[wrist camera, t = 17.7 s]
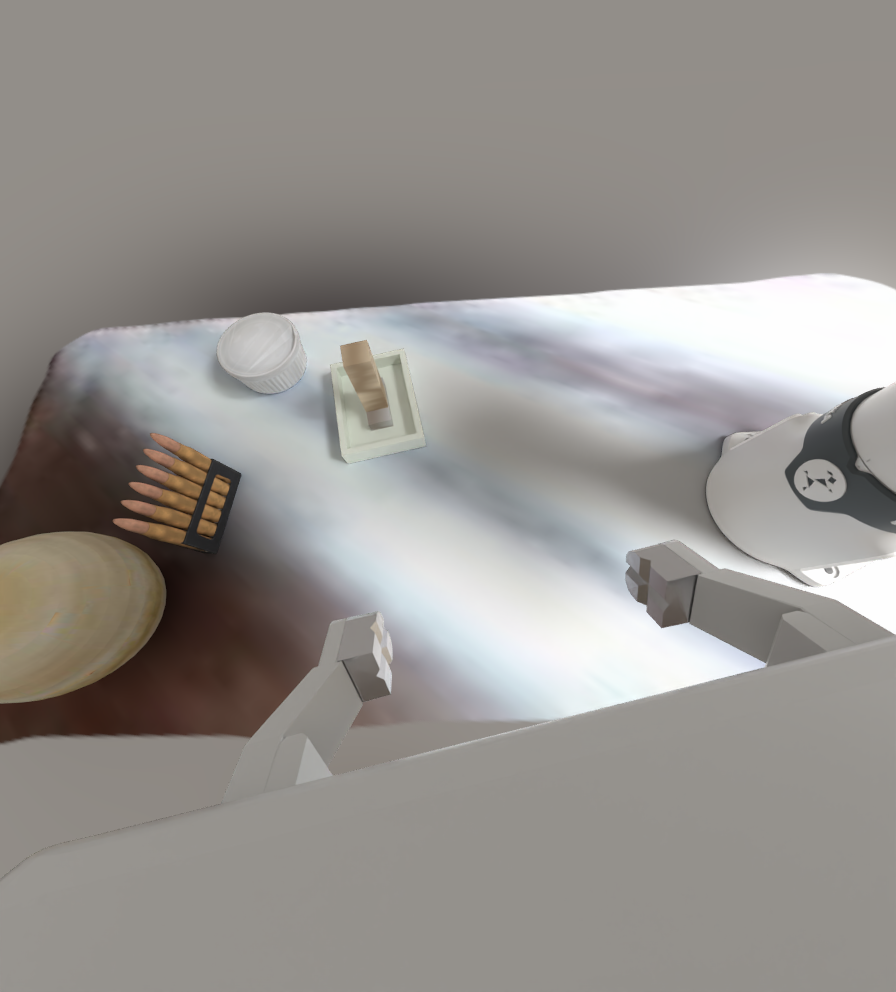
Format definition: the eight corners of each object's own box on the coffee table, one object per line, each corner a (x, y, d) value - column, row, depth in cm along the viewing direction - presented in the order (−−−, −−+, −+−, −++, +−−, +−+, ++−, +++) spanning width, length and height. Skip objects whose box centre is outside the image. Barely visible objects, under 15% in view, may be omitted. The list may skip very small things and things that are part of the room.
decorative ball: (90, 554, 41) (-108, 524, 27) (208, 539, 41) (71, 501, 27) (56, 690, 36) (-211, 742, 22) (190, 674, 36) (9, 716, 22)
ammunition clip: (228, 473, 44) (145, 424, 32) (241, 473, 44) (162, 425, 32) (202, 552, 40) (99, 530, 29) (216, 553, 40) (118, 531, 29)
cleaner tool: (385, 384, 46) (364, 326, 37) (393, 426, 44) (373, 375, 35) (364, 389, 46) (338, 332, 37) (371, 431, 44) (345, 381, 34)
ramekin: (307, 400, 47) (288, 375, 42) (233, 402, 48) (205, 377, 43) (319, 339, 51) (303, 310, 46) (250, 341, 51) (226, 312, 46)
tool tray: (406, 360, 48) (404, 348, 46) (426, 446, 43) (424, 437, 41) (336, 376, 48) (330, 364, 46) (348, 463, 43) (341, 455, 41)
